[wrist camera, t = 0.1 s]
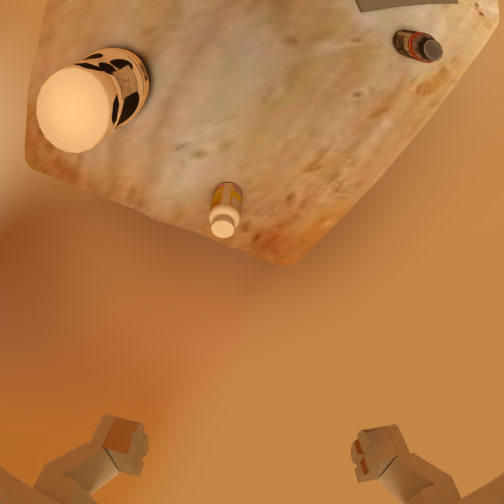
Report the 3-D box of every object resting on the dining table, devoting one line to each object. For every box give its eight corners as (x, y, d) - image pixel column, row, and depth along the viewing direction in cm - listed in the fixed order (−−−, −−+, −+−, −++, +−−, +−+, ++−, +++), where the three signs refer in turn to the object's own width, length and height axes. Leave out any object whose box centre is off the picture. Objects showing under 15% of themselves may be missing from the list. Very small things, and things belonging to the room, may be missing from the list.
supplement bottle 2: (420, 36, 34) (451, 44, 27) (414, 60, 39) (443, 72, 31) (395, 24, 34) (423, 28, 26) (389, 49, 38) (416, 58, 30)
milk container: (72, 100, 46) (23, 134, 34) (104, 33, 36) (49, 47, 24) (131, 132, 54) (93, 175, 41) (170, 68, 44) (134, 89, 31)
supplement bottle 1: (213, 202, 68) (205, 239, 59) (215, 179, 63) (206, 214, 54) (240, 206, 68) (236, 243, 59) (244, 183, 64) (241, 219, 55)
